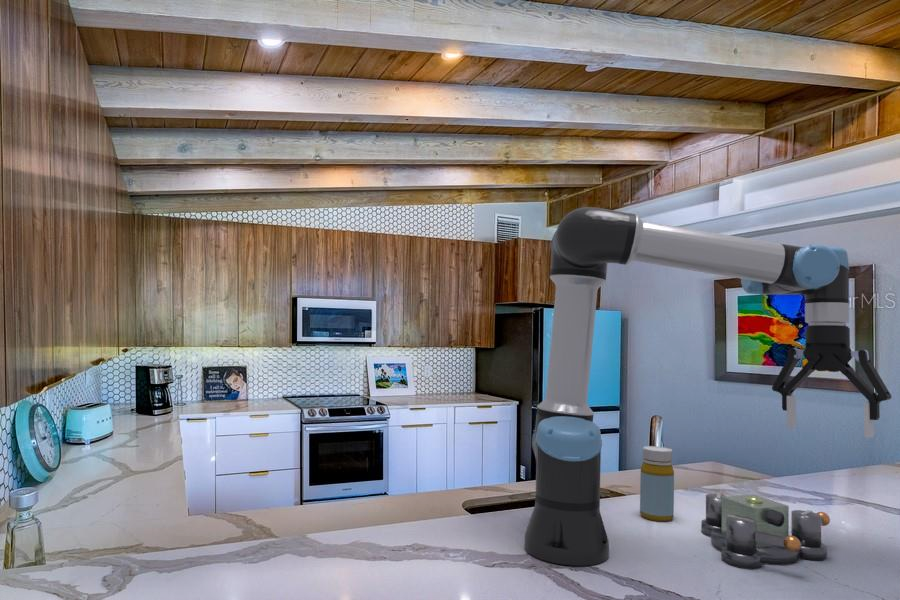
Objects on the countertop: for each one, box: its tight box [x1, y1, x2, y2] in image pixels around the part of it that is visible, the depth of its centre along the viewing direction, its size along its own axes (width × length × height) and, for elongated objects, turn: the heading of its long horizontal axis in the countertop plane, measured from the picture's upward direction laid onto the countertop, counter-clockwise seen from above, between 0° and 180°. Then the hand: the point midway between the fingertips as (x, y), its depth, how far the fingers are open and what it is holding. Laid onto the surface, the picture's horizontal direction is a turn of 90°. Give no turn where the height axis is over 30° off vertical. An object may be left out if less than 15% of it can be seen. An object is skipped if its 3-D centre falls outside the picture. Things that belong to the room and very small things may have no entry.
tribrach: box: [700, 493, 828, 570], centre depth 114 cm, size 22×20×10 cm
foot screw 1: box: [705, 492, 726, 526], centre depth 124 cm, size 12×5×6 cm, turn 154°
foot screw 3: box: [790, 509, 831, 547], centre depth 112 cm, size 12×5×6 cm, turn 129°
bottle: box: [639, 445, 675, 523], centre depth 131 cm, size 7×7×15 cm
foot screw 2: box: [726, 515, 801, 554], centre depth 103 cm, size 12×5×6 cm, turn 49°
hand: (828, 432), depth 116 cm, fingers open, 13 cm apart
